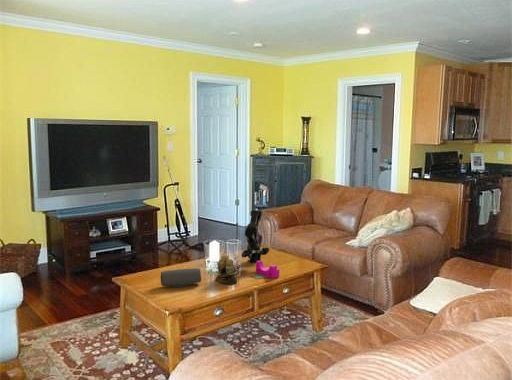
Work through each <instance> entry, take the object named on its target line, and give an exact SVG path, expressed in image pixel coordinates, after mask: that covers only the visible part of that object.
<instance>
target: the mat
mask: <svg viewBox="0 0 512 380" xmlns="http://www.w3.org/2000/svg"><path fill="white" fill-rule="evenodd" d="M251 277H252V278H254V279H255V280H261V279H264V278H265V279H266V278H268V277H267V276H265V275H262V274H259V273H257V274H254V275H251Z"/></svg>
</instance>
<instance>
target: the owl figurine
mask: <svg viewBox="0 0 512 380" xmlns="http://www.w3.org/2000/svg"><path fill="white" fill-rule="evenodd" d="M217 268H218V269H217V270H218V273H220V274H218V275H217V276H216V277H215V281H216V282H217V283H218V284H221V285H225V286H229V285H230V286H231V285H235V284H237V283H238V278H236V277H235V276H236V275H237V273H236V271H237V270H236V269H237V268H236V266H235V264H234V260H233V258H230V257H229V255H228V254H224V255H222V256H221V258H220V259H219V260H218V262H217ZM229 277H230V278H229Z"/></svg>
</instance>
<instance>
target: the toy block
mask: <svg viewBox="0 0 512 380" xmlns="http://www.w3.org/2000/svg"><path fill="white" fill-rule="evenodd" d="M255 273H256V274H262V275H265V276H267V278H269V279H275V278H278V277H280V269H279V268H278V265H276V264H272V265H269V267H268V266H267V267H265V265H264V261H263V260H259V261H256V262H255Z"/></svg>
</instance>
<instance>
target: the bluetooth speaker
mask: <svg viewBox="0 0 512 380" xmlns="http://www.w3.org/2000/svg"><path fill="white" fill-rule="evenodd" d="M201 274H202V273H201V268H182V269H179V268H178V269H172V270H171V269H170V270H164V271H160V284H161V286H162V287H172V288H181V287H188V286H190V285H193V284H199V283H201V282H202V275H201Z"/></svg>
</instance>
